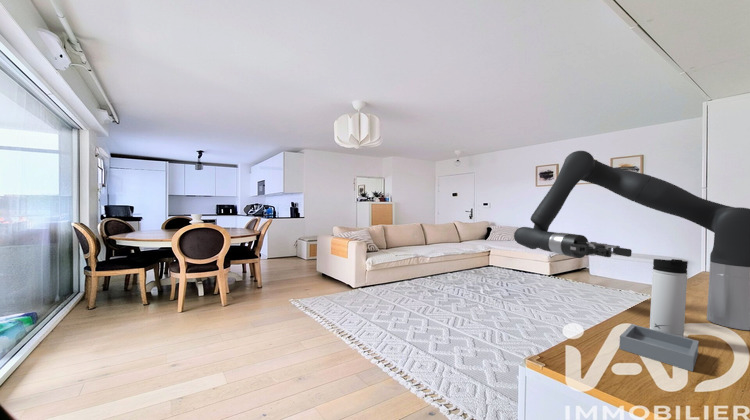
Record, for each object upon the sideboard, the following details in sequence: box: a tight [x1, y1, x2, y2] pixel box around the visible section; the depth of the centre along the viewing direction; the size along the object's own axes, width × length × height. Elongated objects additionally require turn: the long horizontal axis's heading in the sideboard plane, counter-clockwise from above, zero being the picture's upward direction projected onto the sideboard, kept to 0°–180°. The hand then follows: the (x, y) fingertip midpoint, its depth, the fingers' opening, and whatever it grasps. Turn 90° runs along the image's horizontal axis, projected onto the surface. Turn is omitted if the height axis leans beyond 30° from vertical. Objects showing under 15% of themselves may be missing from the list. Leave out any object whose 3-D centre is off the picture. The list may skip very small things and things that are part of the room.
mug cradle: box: [619, 323, 699, 373], centre depth 69 cm, size 12×12×3 cm
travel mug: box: [649, 258, 689, 337], centre depth 77 cm, size 6×7×20 cm
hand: (620, 253), depth 87 cm, fingers open, 8 cm apart
